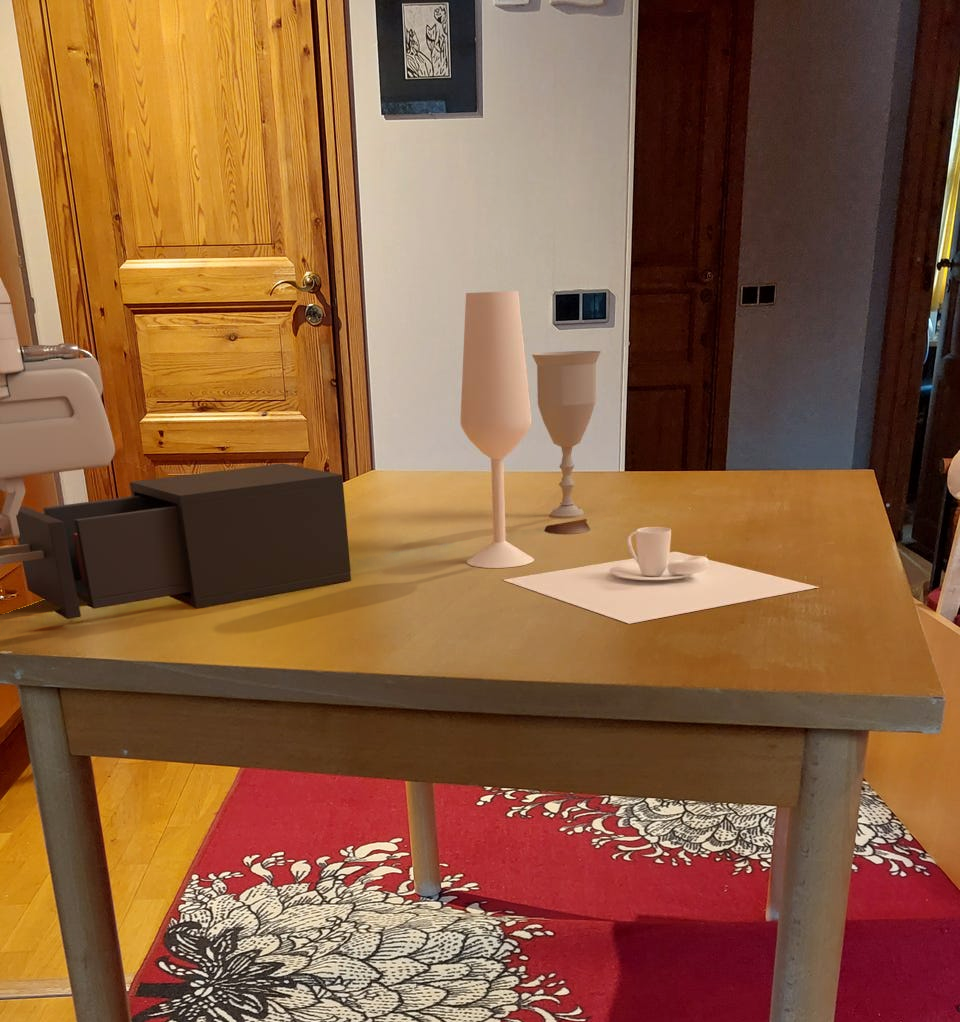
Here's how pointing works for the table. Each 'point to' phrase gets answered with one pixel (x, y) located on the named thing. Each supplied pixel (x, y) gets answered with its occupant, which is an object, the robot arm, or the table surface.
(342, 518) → the drawer cabinet
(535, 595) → the table surface
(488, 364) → the champagne flute
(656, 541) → the teacup and saucer
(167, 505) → the dark grey drawer
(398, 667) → the table surface
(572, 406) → the chalice
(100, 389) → the robot arm
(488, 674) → the table surface
